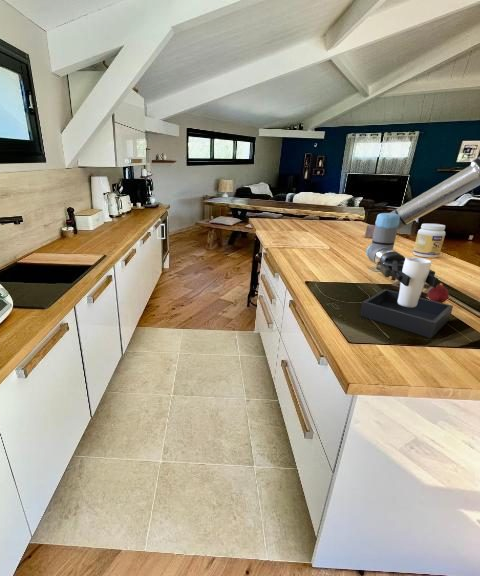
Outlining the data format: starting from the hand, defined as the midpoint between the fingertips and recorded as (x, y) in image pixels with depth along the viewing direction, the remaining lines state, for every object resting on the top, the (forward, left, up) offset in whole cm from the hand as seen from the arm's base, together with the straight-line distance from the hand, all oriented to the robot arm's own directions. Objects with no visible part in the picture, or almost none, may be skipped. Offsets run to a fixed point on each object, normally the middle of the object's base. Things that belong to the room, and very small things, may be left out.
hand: (421, 282), depth 93 cm
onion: (0, -24, -14) cm, 28 cm away
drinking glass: (+3, -4, -10) cm, 11 cm away
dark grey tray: (+3, -4, -14) cm, 15 cm away
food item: (+61, -129, -14) cm, 143 cm away
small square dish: (+10, -36, -14) cm, 40 cm away
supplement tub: (+23, -99, -14) cm, 103 cm away
